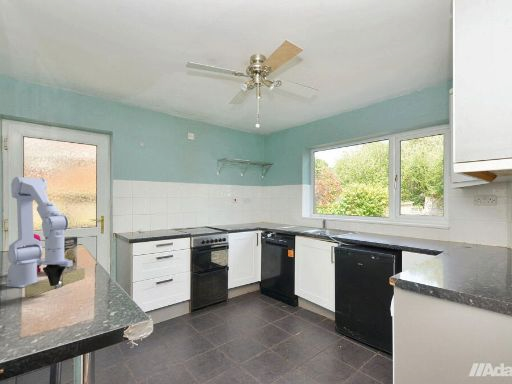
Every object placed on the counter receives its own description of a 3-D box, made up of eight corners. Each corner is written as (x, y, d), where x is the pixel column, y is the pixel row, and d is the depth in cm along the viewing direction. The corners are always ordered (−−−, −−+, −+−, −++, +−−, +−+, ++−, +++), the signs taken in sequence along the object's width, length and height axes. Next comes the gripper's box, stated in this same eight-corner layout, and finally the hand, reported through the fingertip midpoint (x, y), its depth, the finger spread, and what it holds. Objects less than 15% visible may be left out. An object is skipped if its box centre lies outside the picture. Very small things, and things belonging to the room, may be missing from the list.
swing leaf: (23, 297, 92) (23, 285, 92) (58, 285, 104) (58, 274, 105) (28, 298, 91) (29, 285, 91) (63, 285, 104) (63, 275, 104)
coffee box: (60, 274, 121) (61, 239, 122) (49, 273, 122) (49, 239, 123) (77, 268, 130) (78, 236, 130) (67, 268, 131) (67, 236, 132)
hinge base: (51, 288, 102) (51, 276, 102) (81, 278, 114) (81, 267, 115) (56, 288, 101) (57, 277, 101) (86, 278, 114) (86, 268, 114)
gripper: (28, 249, 95) (27, 287, 94) (59, 251, 91) (59, 290, 91) (48, 246, 101) (47, 281, 101) (77, 247, 98) (77, 283, 97)
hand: (54, 285), depth 96 cm, fingers closed
